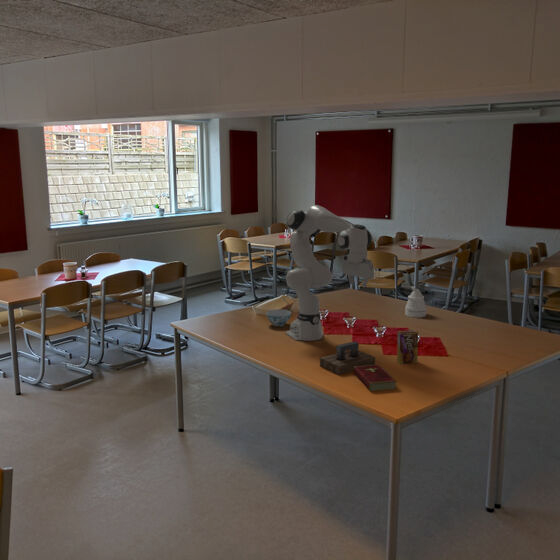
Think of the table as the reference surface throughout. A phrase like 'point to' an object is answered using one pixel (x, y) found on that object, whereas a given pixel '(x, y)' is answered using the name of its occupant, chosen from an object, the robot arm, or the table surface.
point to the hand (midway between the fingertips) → (357, 285)
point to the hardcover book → (374, 377)
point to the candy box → (407, 347)
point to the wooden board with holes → (346, 362)
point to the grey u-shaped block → (345, 347)
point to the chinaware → (278, 317)
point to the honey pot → (415, 304)
